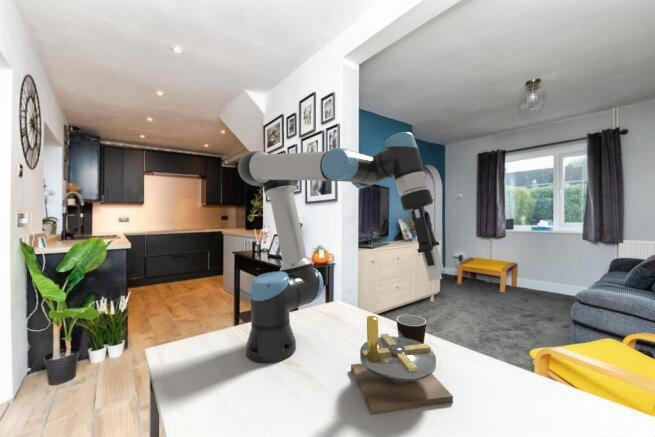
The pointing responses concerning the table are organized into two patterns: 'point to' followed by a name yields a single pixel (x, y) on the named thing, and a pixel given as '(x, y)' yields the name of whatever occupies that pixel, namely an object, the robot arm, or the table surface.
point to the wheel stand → (398, 391)
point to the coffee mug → (411, 327)
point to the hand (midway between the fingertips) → (437, 275)
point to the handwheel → (395, 355)
